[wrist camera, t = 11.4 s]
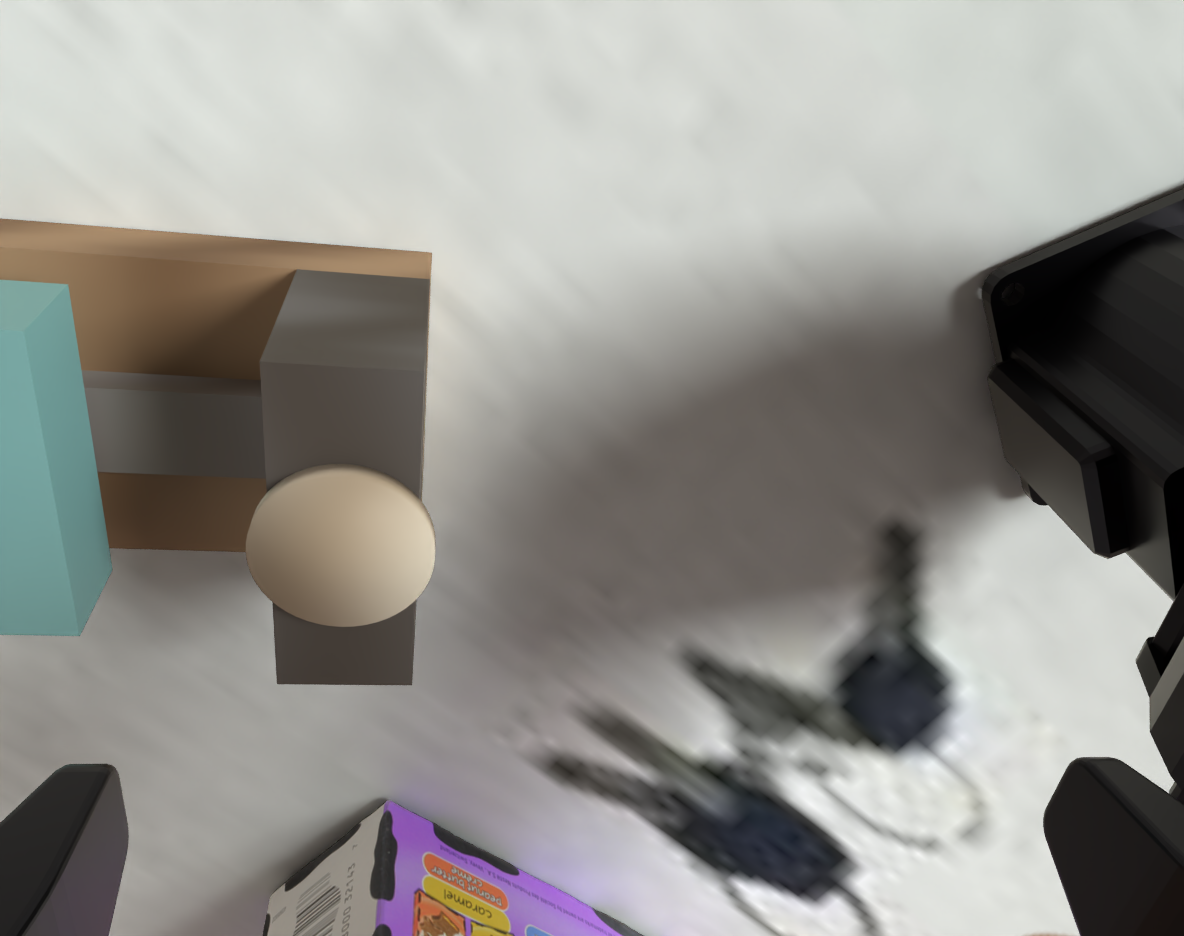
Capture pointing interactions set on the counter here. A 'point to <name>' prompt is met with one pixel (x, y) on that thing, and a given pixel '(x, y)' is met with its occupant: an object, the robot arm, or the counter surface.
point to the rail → (260, 420)
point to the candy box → (423, 889)
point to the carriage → (46, 469)
